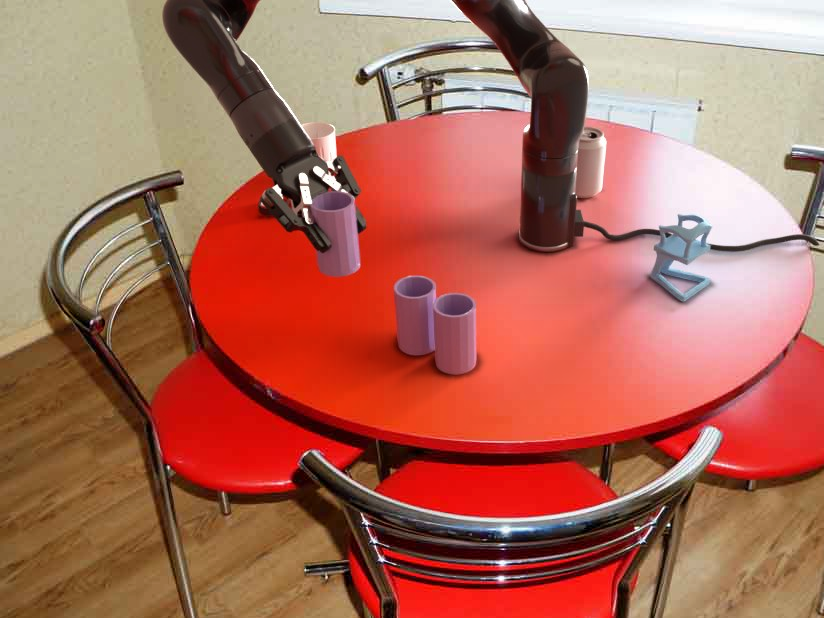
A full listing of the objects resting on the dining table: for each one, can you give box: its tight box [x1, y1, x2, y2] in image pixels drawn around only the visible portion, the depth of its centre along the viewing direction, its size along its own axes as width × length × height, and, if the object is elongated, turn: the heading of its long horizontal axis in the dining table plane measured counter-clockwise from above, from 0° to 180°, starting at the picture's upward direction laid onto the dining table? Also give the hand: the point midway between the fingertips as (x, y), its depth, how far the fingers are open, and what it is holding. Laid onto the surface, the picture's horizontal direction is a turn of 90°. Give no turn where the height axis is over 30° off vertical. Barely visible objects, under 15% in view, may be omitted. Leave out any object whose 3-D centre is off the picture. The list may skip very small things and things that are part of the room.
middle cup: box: [393, 274, 437, 356], centre depth 123 cm, size 6×6×10 cm
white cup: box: [300, 121, 338, 181], centre depth 164 cm, size 8×8×10 cm
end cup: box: [310, 190, 362, 278], centre depth 116 cm, size 6×6×10 cm
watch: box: [257, 195, 290, 217], centre depth 157 cm, size 8×5×4 cm, turn 159°
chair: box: [649, 213, 713, 303], centre depth 136 cm, size 8×8×12 cm
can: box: [575, 125, 607, 199], centre depth 161 cm, size 8×8×12 cm
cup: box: [433, 292, 477, 376], centre depth 120 cm, size 6×6×10 cm
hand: (345, 240), depth 115 cm, fingers closed on end cup, 6 cm apart
